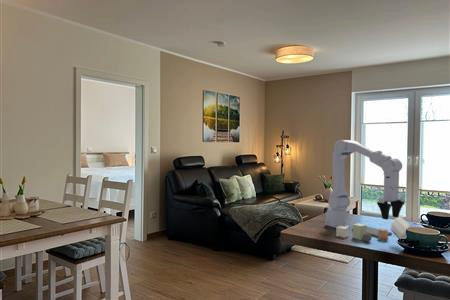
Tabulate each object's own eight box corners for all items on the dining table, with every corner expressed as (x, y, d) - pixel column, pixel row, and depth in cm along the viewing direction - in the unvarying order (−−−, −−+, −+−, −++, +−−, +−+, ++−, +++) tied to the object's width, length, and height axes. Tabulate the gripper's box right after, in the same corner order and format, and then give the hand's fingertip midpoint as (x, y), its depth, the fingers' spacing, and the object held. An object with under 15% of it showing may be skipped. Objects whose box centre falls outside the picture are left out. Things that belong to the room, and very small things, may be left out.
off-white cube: (336, 236, 147) (336, 227, 147) (340, 234, 150) (340, 225, 150) (344, 237, 145) (345, 229, 145) (348, 236, 148) (348, 227, 147)
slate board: (351, 230, 157) (352, 228, 157) (364, 227, 162) (365, 225, 162) (378, 237, 145) (378, 235, 145) (391, 234, 150) (391, 232, 150)
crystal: (386, 220, 163) (397, 232, 140) (399, 214, 162) (413, 225, 139) (393, 233, 162) (406, 248, 139) (407, 227, 161) (423, 241, 138)
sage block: (352, 237, 145) (353, 224, 145) (358, 236, 147) (358, 223, 147) (360, 239, 142) (360, 226, 142) (366, 238, 144) (366, 225, 144)
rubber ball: (360, 241, 140) (360, 232, 140) (365, 239, 142) (365, 231, 142) (367, 243, 137) (368, 234, 137) (373, 242, 138) (373, 233, 138)
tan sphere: (375, 238, 144) (376, 229, 144) (381, 237, 146) (381, 228, 146) (384, 240, 141) (384, 231, 141) (389, 239, 143) (390, 230, 143)
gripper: (390, 189, 133) (389, 222, 133) (409, 187, 140) (409, 218, 140) (374, 186, 139) (373, 218, 139) (394, 185, 146) (393, 215, 146)
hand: (390, 218), depth 140 cm, fingers open, 7 cm apart
